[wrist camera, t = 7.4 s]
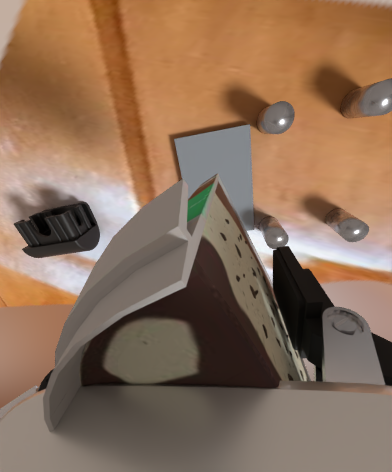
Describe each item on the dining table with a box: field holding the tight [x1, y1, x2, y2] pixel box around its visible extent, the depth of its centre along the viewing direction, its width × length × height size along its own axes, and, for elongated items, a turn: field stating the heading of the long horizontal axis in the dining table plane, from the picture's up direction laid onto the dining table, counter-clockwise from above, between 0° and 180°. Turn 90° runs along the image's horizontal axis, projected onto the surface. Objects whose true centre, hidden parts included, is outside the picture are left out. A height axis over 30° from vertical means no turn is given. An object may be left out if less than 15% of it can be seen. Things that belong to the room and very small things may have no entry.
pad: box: [174, 124, 254, 231], centre depth 29 cm, size 10×15×1 cm, turn 10°
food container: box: [43, 173, 311, 432], centre depth 9 cm, size 12×6×10 cm, turn 30°
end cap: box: [14, 202, 100, 258], centre depth 33 cm, size 10×7×7 cm
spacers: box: [257, 78, 392, 249], centre depth 26 cm, size 13×18×5 cm
